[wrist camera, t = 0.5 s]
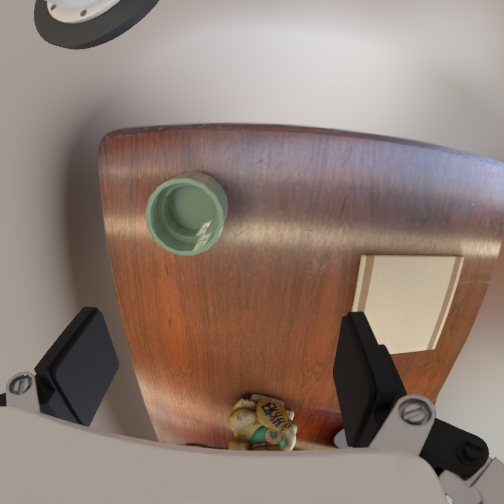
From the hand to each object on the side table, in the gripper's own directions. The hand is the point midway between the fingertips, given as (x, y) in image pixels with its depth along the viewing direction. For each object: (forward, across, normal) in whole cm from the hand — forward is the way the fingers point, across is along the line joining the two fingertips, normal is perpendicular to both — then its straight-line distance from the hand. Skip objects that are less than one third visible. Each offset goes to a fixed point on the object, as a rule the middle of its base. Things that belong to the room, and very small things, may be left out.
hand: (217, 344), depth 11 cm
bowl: (+20, +5, 0) cm, 21 cm away
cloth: (+20, -19, +12) cm, 30 cm away
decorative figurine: (+20, -1, +30) cm, 36 cm away
